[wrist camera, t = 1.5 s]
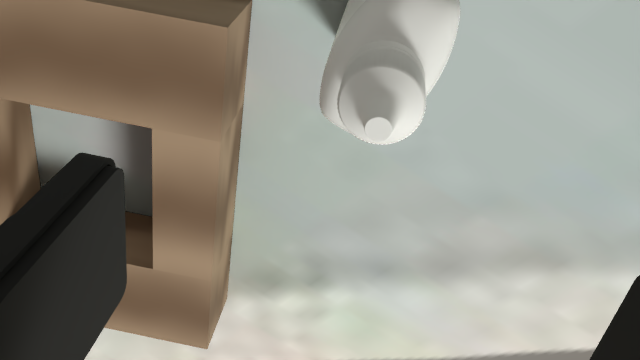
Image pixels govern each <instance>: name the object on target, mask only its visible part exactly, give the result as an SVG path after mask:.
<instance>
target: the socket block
mask: <svg viewBox="0 0 640 360" xmlns="http://www.w3.org/2000/svg"><path fill="white" fill-rule="evenodd" d="M251 8H252V0H0V225H1V224H2V223H3V222H4V221H5V220H6V219H8V218H9V217H10V216H12V215H13V214H15V213H16V212H17V211H18V210H19V209H20V208H22V207H23V206H24V205H25V204H26V203H27V202H28V201H29V200H30V199H31V198H32V197H33V196H34V195H35V194H36V193H37V192H38V191H39V190H40V189H41V187H40V179H39V172H38V164H37V157H36V149H35V142H34V134H33V127H32V119H31V112H30V104H31V105H36V106H41V107H46V108H51V109H56V110H61V111H66V112H71V113H76V114H81V115H87V116H92V117H97V118H102V119H107V120H112V121H117V122H122V123H127V124H132V125H137V126H142V127H147V128H152V207H153V217H150V216H145V215H140V214H136V213H131V212H126V211H125V228H126V262H127V284H126V289H125V292H124V295H123V297H122V299H121V301H120V303H119V304H118V306H117V307H116V309H115V311H114V312H113V314H112V315H111V317H110V319H109V320H108V322H107V323H106V325H105V327H104V328H109V329H114V330H119V331H123V332H128V333H133V334H137V335H142V336H147V337H152V338H156V339H161V340H166V341H171V342H175V343H180V344H185V345H190V346H194V347H199V348H204V349H207V348H208V346H209V343H210V341H211V338H212V336H213V333H214V330H215V328H216V325H217V323H218V320H219V317H220V315H221V312H222V310H223V307H224V305H225V302H226V299H227V291H228V280H229V268H230V256H231V244H232V232H233V221H234V209H235V197H236V185H237V173H238V162H239V150H240V138H241V126H242V114H243V103H244V91H245V79H246V67H247V55H248V44H249V32H250V20H251Z"/></svg>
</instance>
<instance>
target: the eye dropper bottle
mask: <svg viewBox="0 0 640 360" xmlns="http://www.w3.org/2000/svg"><path fill="white" fill-rule="evenodd" d="M460 13H461V11H460V4H459V0H349V1H348V3H347V6H346V8H345V11H344V14H343V17H342V20H341V22H340V25H339V28H338V31H337V34H336V37H335V39H334V42H333V45H332V48H331V51H330V54H329V57H328V60H327V63H326V66H325V70H324V73H323V78H322V83H321V90H320V108H321V111H322V113H323V115H324V116H325V117H326V118H327V119H328V120H329V121H331V122H332V123H334V124H335V125H337V126H338V127H340V128H342V129H343V130H345V131H347V132H349V133H351V134H353V135H355V137H358V139H362V141H366V142H367V143H368V142H370V143H371V144H373V143H374V144H379V145H381V144H383V145H385V144H390V143H394V142H398V141H402V139H406V137H408V136H410V134H412V133H413V131H415V130H416V128H417V127H419V124H421V120H423V116H424V115H425V113H424V112H425V111H426V96H427V95H428V94H429V93H430V91H431V90H432V88H433V87H434V85H435V84H436V82H437V81H438V79H439V77H440V75H441V74H442V72H443V70H444V68H445V66H446V63H447V61H448V59H449V56H450V54H451V51H452V48H453V45H454V42H455V39H456V35H457V31H458V27H459V20H460Z"/></svg>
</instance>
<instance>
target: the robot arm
mask: <svg viewBox="0 0 640 360" xmlns="http://www.w3.org/2000/svg"><path fill="white" fill-rule="evenodd" d="M126 284H127V262H126V228H125V194H124V173H123V170H122V169H120V168H116V166H115V163H114V160H112V159H111V158H106V157H101V156H96V155H91V154H86V153H79V154H77V155H76V156H75V157H74V158H73V159H72V160H71V161H70V162H69V163H67V164H66V165H65V166H64V167H63V168H62V169H61V170H60V171H59V172H58V173H57V174H56V175H55V176H54V177H53V178H52V179H51V180H50V181H49V182H48V183H47V184H46V185H44V186H43V187H42V188H41V189H40V190H39V191H38V192H37V193H36V194H35V195H34V196H33V197H32V198H31V199H30V200H29V201H28V202H27V203H26V204H25V205H24V206H23V207H22V208H20V209H19V210H18V211H17V212H16V213H15V214H13V215H12V216H10V217H9V218H8V219H6V220H5V221H4V222H3V223H2V224H1V225H0V360H84V359H85V357H86V356H87V354H88V352H89V351H90V349H91V348H92V346H93V344H94V343H95V341H96V340H97V338H98V336H99V335H100V333H101V332H102V330H103V328H104V327H105V325H106V323H107V322H108V320H109V319H110V317H111V315H112V314H113V312H114V311H115V309H116V307H117V306H118V304H119V303H120V301H121V299H122V297H123V295H124V292H125V289H126ZM590 360H640V275H639V276H638V277H637V278H636V279H635V281H634V283H633V284H632V286H631V288H630V290H629V291H628V293H627V295H626V297H625V298H624V300H623V302H622V304H621V305H620V307H619V309H618V311H617V312H616V314H615V316H614V318H613V319H612V321H611V323H610V325H609V327H608V328H607V330H606V332H605V334H604V335H603V337H602V339H601V341H600V342H599V344H598V346H597V348H596V349H595V351H594V353H593V355H592V357H591V358H590Z"/></svg>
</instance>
